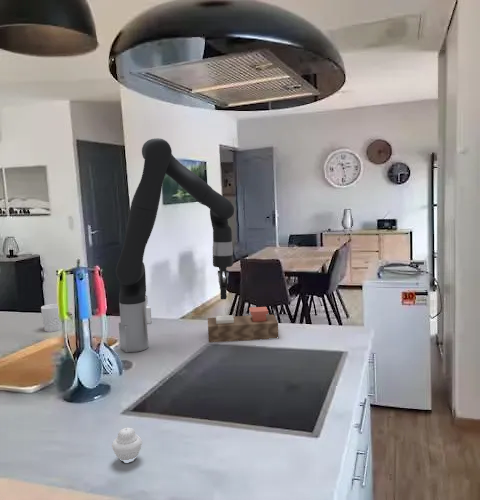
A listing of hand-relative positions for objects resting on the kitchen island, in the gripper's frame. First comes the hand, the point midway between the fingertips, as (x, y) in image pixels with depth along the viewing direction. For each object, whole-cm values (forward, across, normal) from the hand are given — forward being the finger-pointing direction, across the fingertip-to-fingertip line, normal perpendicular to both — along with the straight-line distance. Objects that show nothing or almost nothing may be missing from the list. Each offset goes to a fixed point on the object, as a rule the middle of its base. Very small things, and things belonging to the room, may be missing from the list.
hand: (223, 298), depth 181 cm
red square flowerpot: (+10, 0, -13) cm, 17 cm away
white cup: (+16, +22, +70) cm, 76 cm away
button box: (+15, 0, -7) cm, 16 cm away
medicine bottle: (+16, +26, +34) cm, 46 cm away
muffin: (+15, -80, +25) cm, 85 cm away
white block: (+13, 0, 0) cm, 13 cm away
